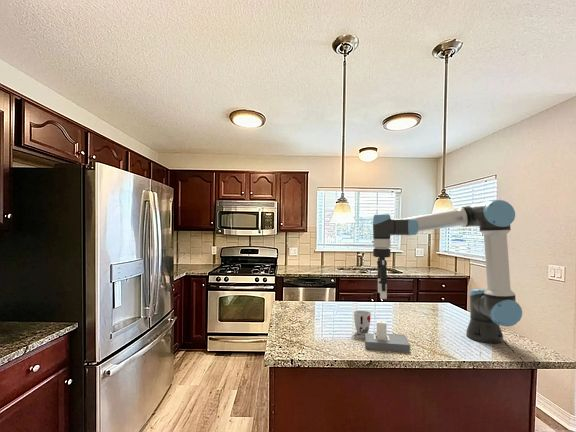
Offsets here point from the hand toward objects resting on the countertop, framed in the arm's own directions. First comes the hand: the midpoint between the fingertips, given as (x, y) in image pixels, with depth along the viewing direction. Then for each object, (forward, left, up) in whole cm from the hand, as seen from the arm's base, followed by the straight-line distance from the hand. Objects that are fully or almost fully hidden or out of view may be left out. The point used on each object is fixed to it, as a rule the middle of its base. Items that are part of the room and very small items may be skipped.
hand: (382, 295), depth 148 cm
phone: (-5, -11, -22) cm, 25 cm away
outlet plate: (-2, +1, -22) cm, 22 cm away
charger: (0, 0, -22) cm, 22 cm away
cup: (+8, -15, -22) cm, 28 cm away
